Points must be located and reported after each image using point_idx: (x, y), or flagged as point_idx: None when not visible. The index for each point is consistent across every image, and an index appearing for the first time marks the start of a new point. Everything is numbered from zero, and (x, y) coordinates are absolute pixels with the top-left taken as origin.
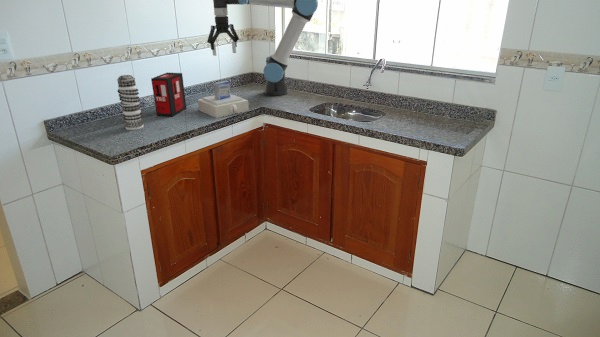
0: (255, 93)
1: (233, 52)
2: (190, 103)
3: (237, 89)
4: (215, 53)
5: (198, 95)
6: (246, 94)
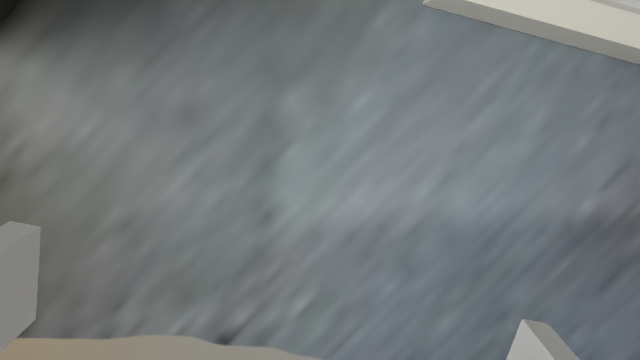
0: (69, 73)
1: (30, 295)
2: (544, 245)
3: (79, 273)
4: (564, 351)
5: (365, 355)
6: (139, 110)
